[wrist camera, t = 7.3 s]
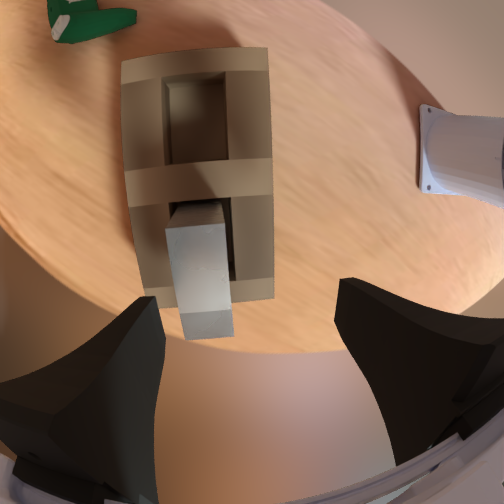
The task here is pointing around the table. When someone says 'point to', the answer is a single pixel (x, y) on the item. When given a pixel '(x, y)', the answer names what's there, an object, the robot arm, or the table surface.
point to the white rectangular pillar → (200, 269)
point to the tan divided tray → (200, 159)
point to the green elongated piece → (85, 20)
